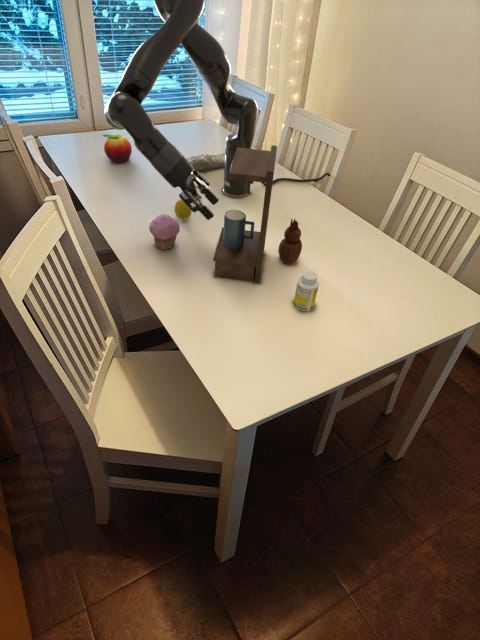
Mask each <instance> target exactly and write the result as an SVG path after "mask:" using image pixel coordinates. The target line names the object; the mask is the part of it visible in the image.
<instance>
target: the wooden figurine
mask: <svg viewBox="0 0 480 640" xmlns="http://www.w3.org/2000/svg"><path fill="white" fill-rule="evenodd" d="M283 236H284V238H282V239H281V241H280V243H279V244H278V251H277V252H278V256H279V259H280V261H281V262H282V263H284V264H286V265H287V264H288V265H291V264H295V262H297V261H298V260H299V258H300V256H301V253H302V249H303V243H302V240H301V236H302V230H301V228H299V222H298V220H296V218H295V217H294V219H293V218H291V219H290V223H289V226H288V227H287V228H286V229H285V230H284V234H283Z"/></svg>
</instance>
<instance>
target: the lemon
mask: <svg viewBox="0 0 480 640" xmlns="http://www.w3.org/2000/svg"><path fill="white" fill-rule="evenodd" d="M192 212H193V211H192V210H191V209H190V208H189V207H188V206H187V205H186V204H185V203H184V202H183V200H182V199H181V198H179V199H177V200H176V202H175V204H174V213H175V215H176V217H177V218H178V219H180V220H182V221H185V220H187V219H189V218H190V216H191V215H192Z"/></svg>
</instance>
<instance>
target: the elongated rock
mask: <svg viewBox="0 0 480 640" xmlns="http://www.w3.org/2000/svg"><path fill="white" fill-rule="evenodd" d="M185 158H186V157H185ZM186 159H187V160H188V162H189V163H190V164H191V165H192V166H193V168H194V169H197V170H198V171H199V172H205V171H209V170H212V169H213V170H214V169H218V168H221V167H224V165H225V153H219V154H207V153H205V154H199V155H195V156H190V157H187V158H186ZM194 169H193V170H194Z"/></svg>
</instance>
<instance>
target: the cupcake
mask: <svg viewBox="0 0 480 640" xmlns="http://www.w3.org/2000/svg"><path fill="white" fill-rule="evenodd" d="M148 230H149V232H150V234H151V235H152V236H153V240H154V244H155V246H156V247H157V248H160V249H162V250H169V249H171V248H173V247H174V246H175V243H176V239H177V236H178V234H179V233H180V230H181V229H180V224H179V222H178V220H177V219H175V218H174V217H172V216H171V215H169V214H165V213H164V214H163V213H162V214H159V215H157V216H155V217H154V218H153V219H152V220H151V222H149V225H148Z"/></svg>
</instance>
